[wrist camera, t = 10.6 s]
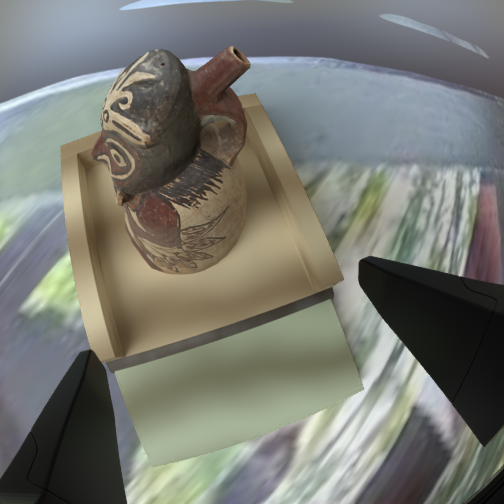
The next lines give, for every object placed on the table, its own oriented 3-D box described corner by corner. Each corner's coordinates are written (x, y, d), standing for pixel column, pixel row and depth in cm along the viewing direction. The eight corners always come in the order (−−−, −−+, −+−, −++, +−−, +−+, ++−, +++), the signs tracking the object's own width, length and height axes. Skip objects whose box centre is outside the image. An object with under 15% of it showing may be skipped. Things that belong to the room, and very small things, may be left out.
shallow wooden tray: (358, 386, 19) (388, 391, 15) (152, 461, 16) (140, 484, 12) (251, 127, 24) (258, 93, 21) (76, 176, 21) (58, 147, 17)
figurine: (130, 175, 20) (78, 24, 8) (235, 165, 21) (261, 5, 9) (130, 281, 18) (24, 174, 6) (250, 269, 19) (309, 143, 7)
